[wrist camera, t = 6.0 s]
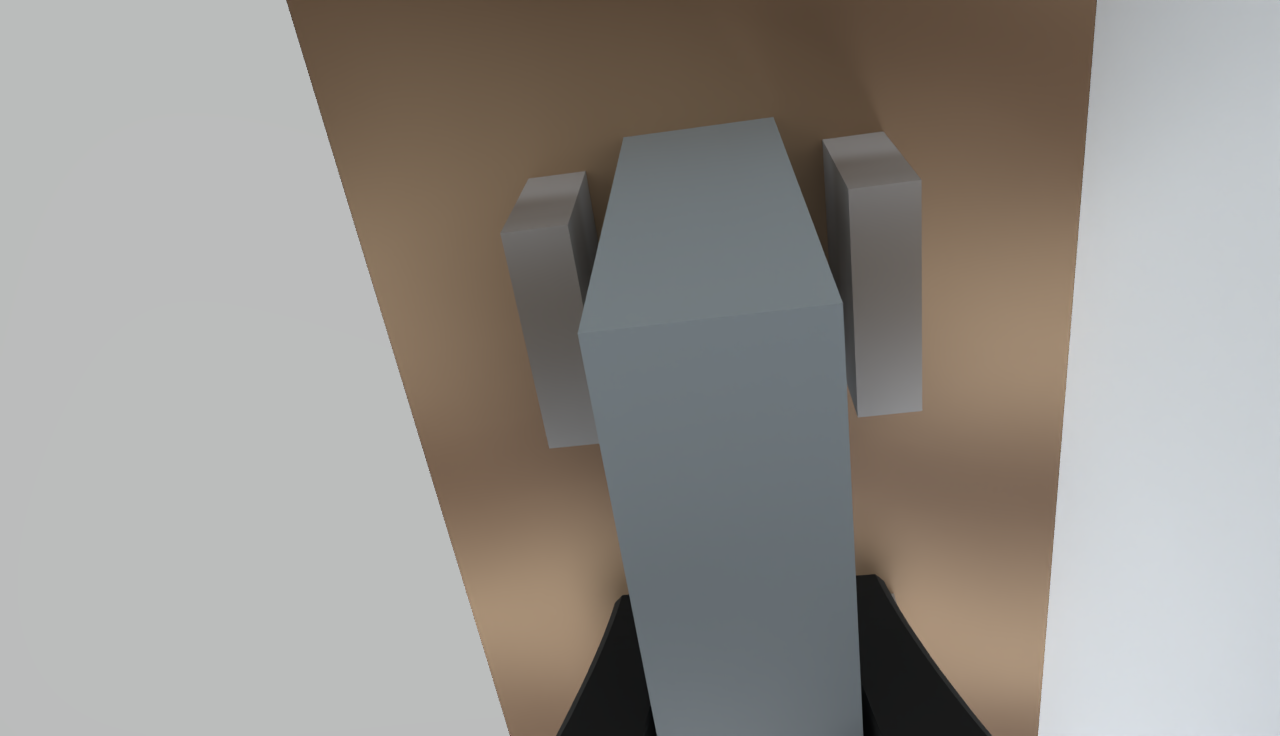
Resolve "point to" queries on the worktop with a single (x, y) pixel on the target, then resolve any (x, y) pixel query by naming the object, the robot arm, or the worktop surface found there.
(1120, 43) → the worktop surface
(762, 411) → the door panel
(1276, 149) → the worktop surface
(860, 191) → the hinge board
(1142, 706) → the worktop surface
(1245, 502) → the worktop surface
